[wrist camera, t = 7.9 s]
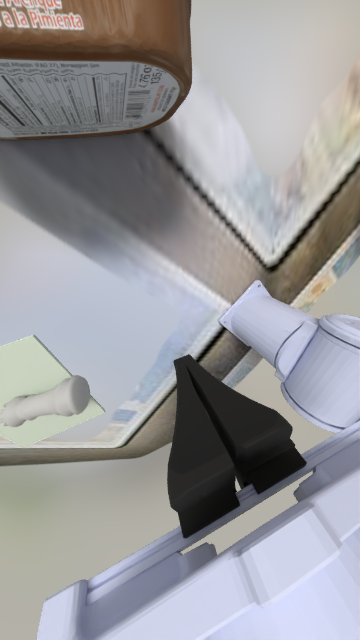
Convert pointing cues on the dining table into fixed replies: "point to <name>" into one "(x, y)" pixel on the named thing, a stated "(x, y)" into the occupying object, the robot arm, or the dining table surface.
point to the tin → (91, 66)
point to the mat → (35, 389)
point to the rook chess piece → (48, 402)
